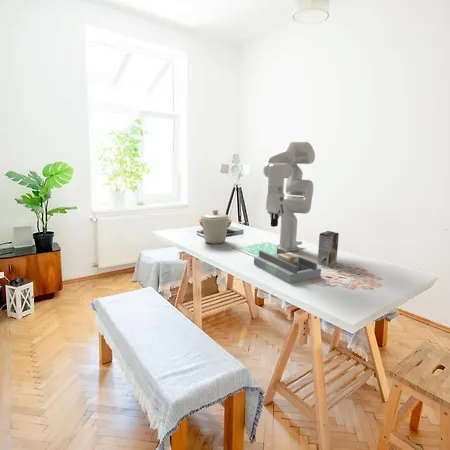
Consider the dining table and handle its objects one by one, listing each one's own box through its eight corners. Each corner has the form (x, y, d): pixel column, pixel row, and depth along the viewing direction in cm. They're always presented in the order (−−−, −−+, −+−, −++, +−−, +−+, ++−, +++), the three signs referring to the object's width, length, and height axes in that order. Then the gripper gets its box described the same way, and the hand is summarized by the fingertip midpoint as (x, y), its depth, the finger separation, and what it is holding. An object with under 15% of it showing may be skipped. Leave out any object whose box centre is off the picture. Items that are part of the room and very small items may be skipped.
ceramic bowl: (240, 232, 235) (240, 221, 233) (212, 236, 221) (212, 225, 219) (217, 225, 258) (217, 215, 257) (191, 228, 244) (191, 218, 243)
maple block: (288, 260, 158) (289, 252, 157) (298, 264, 152) (299, 256, 151) (277, 262, 155) (277, 254, 154) (286, 266, 149) (287, 258, 148)
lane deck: (282, 260, 172) (283, 247, 170) (320, 277, 147) (321, 262, 146) (254, 264, 163) (254, 251, 162) (289, 283, 139) (290, 268, 138)
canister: (226, 246, 196) (227, 212, 192) (197, 244, 199) (197, 211, 195) (230, 239, 214) (231, 208, 210) (204, 237, 217) (204, 206, 213)
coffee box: (325, 260, 173) (327, 230, 170) (336, 262, 169) (339, 232, 166) (316, 263, 167) (319, 233, 164) (328, 266, 162) (330, 235, 159)
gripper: (291, 191, 153) (289, 228, 157) (272, 187, 165) (271, 222, 170) (278, 191, 149) (277, 230, 153) (260, 188, 162) (259, 223, 166)
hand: (274, 226), depth 162 cm, fingers closed
